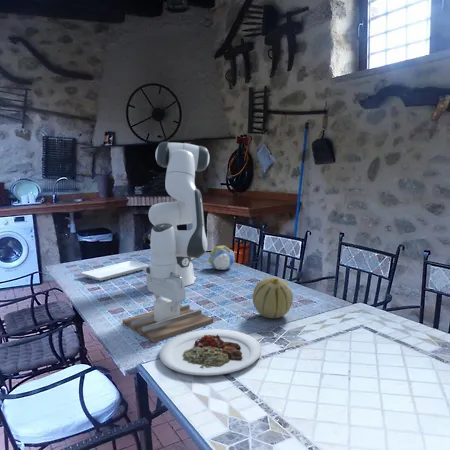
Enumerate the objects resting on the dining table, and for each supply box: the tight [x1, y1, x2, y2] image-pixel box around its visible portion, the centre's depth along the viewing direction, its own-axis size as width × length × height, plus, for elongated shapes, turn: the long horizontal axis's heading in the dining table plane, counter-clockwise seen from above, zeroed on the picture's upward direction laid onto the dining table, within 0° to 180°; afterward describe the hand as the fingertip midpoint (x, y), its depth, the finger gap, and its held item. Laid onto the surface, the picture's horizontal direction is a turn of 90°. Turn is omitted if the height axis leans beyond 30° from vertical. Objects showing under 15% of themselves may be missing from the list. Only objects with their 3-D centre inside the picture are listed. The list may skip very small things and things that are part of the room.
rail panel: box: [121, 304, 214, 343], centre depth 150 cm, size 22×24×3 cm
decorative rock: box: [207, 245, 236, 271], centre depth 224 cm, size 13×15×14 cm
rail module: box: [152, 297, 181, 322], centre depth 150 cm, size 4×9×7 cm, turn 130°
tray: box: [80, 260, 149, 282], centre depth 221 cm, size 17×31×4 cm, turn 140°
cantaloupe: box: [252, 276, 294, 319], centre depth 152 cm, size 15×15×15 cm
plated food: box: [158, 328, 262, 376], centre depth 125 cm, size 30×30×3 cm
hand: (166, 308), depth 150 cm, fingers open, 8 cm apart
